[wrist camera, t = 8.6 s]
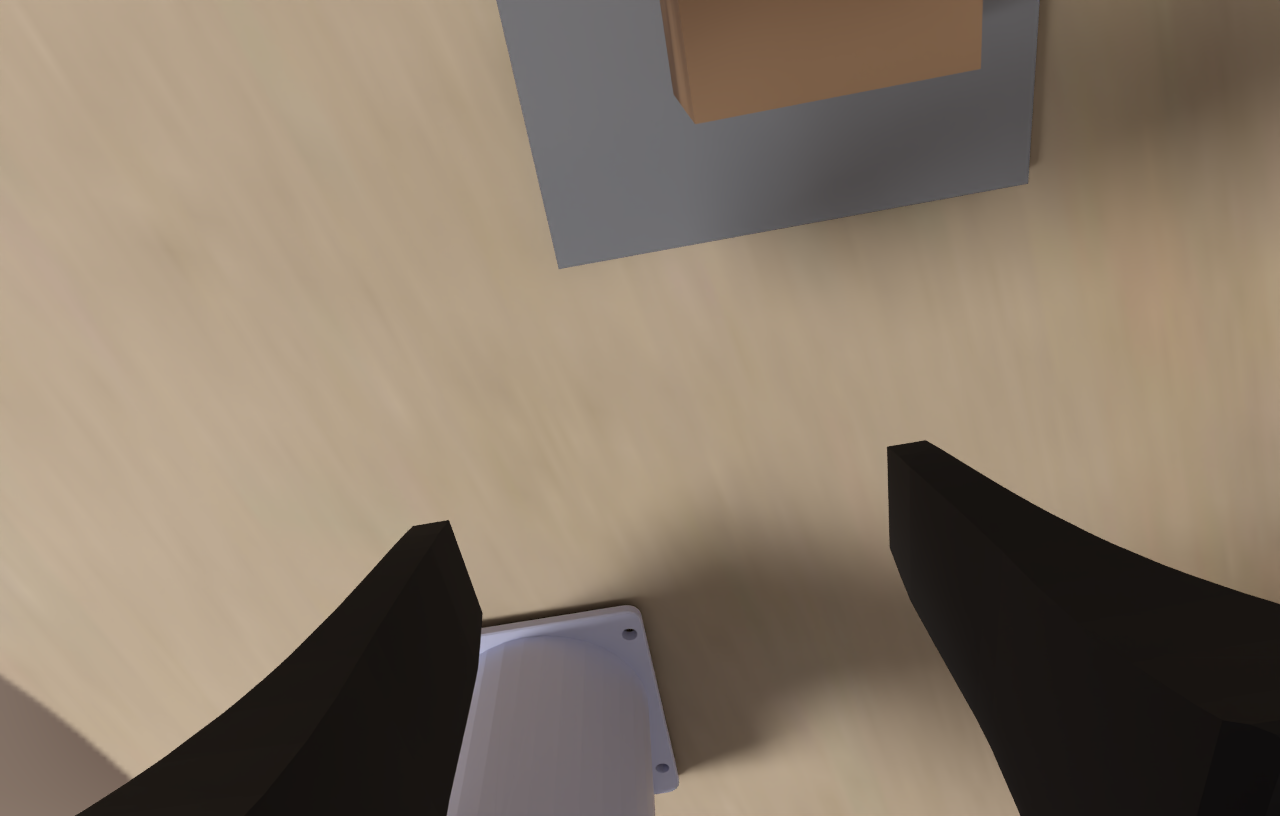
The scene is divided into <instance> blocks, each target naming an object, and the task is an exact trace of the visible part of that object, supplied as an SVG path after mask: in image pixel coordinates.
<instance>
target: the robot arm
mask: <svg viewBox="0 0 1280 816" xmlns="http://www.w3.org/2000/svg"><path fill="white" fill-rule="evenodd" d="M887 460H888V499H889V537H890V550H891V552H892V555H893V557H894V560H895V563H896V565H897V568H898V570H899V573H900V576H901V578H902V581H903V583H904V586H905V588H906V590H907V593H908V595H909V598H910V600H911V602H912V604H913V606H914V608H915V610H916V612H917V613H918V615H919V617H920V619H921V621H922V622H923V624H924V626H925V628H926V630H927V631H928V633H929V635H930V637H931V639H932V641H933V642H934V644H935V646H936V648H937V649H938V651H939V653H940V655H941V657H942V658H943V660H944V662H945V664H946V665H947V667H948V669H949V671H950V673H951V674H952V676H953V678H954V680H955V681H956V683H957V685H958V687H959V689H960V690H961V692H962V694H963V696H964V698H965V699H966V701H967V703H968V705H969V706H970V708H971V710H972V712H973V714H974V715H975V717H976V719H977V721H978V723H979V725H980V727H981V729H982V731H983V733H984V735H985V737H986V739H987V741H988V743H989V745H990V746H991V749H992V751H993V753H994V756H995V758H996V760H997V762H998V765H999V767H1000V769H1001V772H1002V774H1003V776H1004V779H1005V781H1006V783H1007V785H1008V788H1009V790H1010V792H1011V795H1012V797H1013V799H1014V802H1015V804H1016V806H1017V808H1018V811H1019V813H1020V816H1280V604H1278V603H1274V602H1271V601H1268V600H1264V599H1261V598H1258V597H1254V596H1251V595H1248V594H1245V593H1242V592H1239V591H1236V590H1233V589H1230V588H1227V587H1224V586H1221V585H1218V584H1215V583H1212V582H1209V581H1206V580H1204V579H1201V578H1198V577H1195V576H1192V575H1189V574H1186V573H1184V572H1181V571H1178V570H1176V569H1173V568H1170V567H1168V566H1165V565H1162V564H1160V563H1157V562H1155V561H1153V560H1150V559H1148V558H1145V557H1143V556H1141V555H1138V554H1136V553H1134V552H1131V551H1129V550H1126V549H1124V548H1122V547H1119V546H1117V545H1114V544H1112V543H1110V542H1108V541H1106V540H1103V539H1101V538H1099V537H1097V536H1095V535H1093V534H1091V533H1088V532H1086V531H1084V530H1082V529H1081V528H1079V527H1077V526H1075V525H1073V524H1071V523H1069V522H1067V521H1065V520H1063V519H1061V518H1059V517H1057V516H1055V515H1053V514H1051V513H1049V512H1047V511H1045V510H1043V509H1042V508H1040V507H1038V506H1036V505H1034V504H1032V503H1031V502H1029V501H1027V500H1025V499H1023V498H1022V497H1020V496H1018V495H1016V494H1015V493H1013V492H1011V491H1009V490H1008V489H1006V488H1004V487H1002V486H1001V485H999V484H997V483H996V482H994V481H992V480H991V479H989V478H987V477H986V476H984V475H982V474H981V473H979V472H977V471H976V470H974V469H973V468H971V467H969V466H968V465H966V464H964V463H963V462H961V461H960V460H958V459H956V458H955V457H953V456H951V455H950V454H948V453H946V452H945V451H943V450H942V449H940V448H938V447H936V446H935V445H933V444H931V443H929V442H928V441H926V440H925V441H919V442H913V443H907V444H901V445H895V446H889V447H887ZM626 629H634V631H631V632H627V631H624V630H626ZM678 785H679V777H678V771H677V767H676V763H675V758H674V754H673V750H672V745H671V741H670V737H669V732H668V728H667V724H666V719H665V715H664V711H663V706H662V702H661V698H660V693H659V689H658V685H657V680H656V676H655V672H654V667H653V663H652V659H651V654H650V650H649V646H648V641H647V637H646V633H645V628H644V624H643V620H642V615H641V613H640V611H639V609H637V608H636V607H634V606H631V605H623V606H616V607H610V608H604V609H598V610H591V611H585V612H579V613H573V614H566V615H560V616H554V617H548V618H541V619H535V620H529V621H523V622H516V623H510V624H504V625H498V626H491V627H485V628H482V611H481V608H480V605H479V602H478V599H477V597H476V594H475V591H474V588H473V586H472V583H471V580H470V577H469V574H468V572H467V569H466V566H465V563H464V561H463V558H462V555H461V552H460V550H459V547H458V544H457V541H456V538H455V536H454V533H453V530H452V527H451V525H450V522H449V520H447V521H441V522H435V523H429V524H423V525H417V526H413V527H412V528H411V529H410V530H409V531H408V532H407V533H406V534H405V535H404V536H403V537H402V538H401V539H400V540H399V541H398V542H397V543H396V544H395V545H394V546H393V547H392V549H391V550H390V551H389V552H388V553H387V554H386V555H385V556H384V557H383V558H382V560H381V561H380V562H379V563H378V564H377V565H376V566H375V567H374V569H373V570H372V571H371V572H370V573H369V574H368V575H367V576H366V577H365V578H364V580H363V581H362V582H361V583H360V584H359V585H358V586H357V587H356V588H355V589H354V590H353V591H352V593H351V594H350V595H349V596H348V597H347V598H346V599H345V600H344V601H343V602H342V603H341V605H340V606H339V607H338V608H337V609H336V610H335V611H334V612H333V613H332V614H331V615H330V616H329V617H328V618H327V619H326V620H325V621H324V622H323V623H322V624H321V625H320V626H319V627H318V628H317V629H316V630H315V631H314V632H313V633H312V634H311V635H310V636H309V637H308V638H307V639H306V640H305V641H304V642H303V643H302V644H301V645H300V646H299V647H298V648H297V649H296V650H295V651H294V652H293V653H292V654H291V655H290V656H289V657H288V658H287V659H285V660H284V661H283V662H282V663H281V664H280V665H279V666H278V667H277V668H276V669H275V670H273V671H272V672H271V673H270V674H269V675H268V676H267V677H266V678H265V679H263V680H262V681H261V682H260V683H259V684H258V685H256V686H255V687H254V688H253V689H252V690H250V691H249V692H248V693H247V694H246V695H245V696H243V697H242V698H241V699H240V700H239V701H237V702H236V703H235V704H234V705H233V706H231V707H230V708H229V709H228V710H226V711H225V712H224V713H223V714H221V715H220V716H219V717H217V718H216V719H215V720H213V721H212V722H211V723H209V724H208V725H207V726H205V727H204V728H203V729H201V730H200V731H199V732H197V733H196V734H195V735H193V736H192V737H191V738H189V739H188V740H187V741H185V742H184V743H183V744H181V745H180V746H179V747H177V748H176V749H175V750H173V751H172V752H171V753H169V754H168V755H167V756H165V757H164V758H163V759H161V760H160V761H158V762H157V763H155V764H154V765H153V766H151V767H150V768H148V769H147V770H145V771H144V772H142V773H141V774H139V775H138V776H136V777H135V778H133V779H132V780H130V781H129V782H127V783H126V784H125V785H123V786H121V787H120V788H118V789H117V790H115V791H114V792H112V793H111V794H109V795H107V796H106V797H104V798H103V799H101V800H100V801H98V802H97V803H95V804H93V805H92V806H90V807H89V808H87V809H86V810H84V811H82V812H81V813H79V814H77V815H76V816H655V801H654V794H660V793H666V792H671V791H673V790H675V789H676V788H677V787H678Z"/></svg>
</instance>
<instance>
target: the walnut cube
mask: <svg viewBox="0 0 1280 816" xmlns="http://www.w3.org/2000/svg"><path fill="white" fill-rule="evenodd" d="M660 6H661V13H662V20H663V27H664V33H665V40H666V47H667V54H668V61H669V67H670V74H671V81H672V88H673V95H674V96H675V97H676V99H677V100H678V101H679V103H680V104H681V106H682V107H683V108H684V110H685V111H686V112H687V114H688V115H689V117H690V118H691V119H692V121H693V122H694V123H695V124H699V123H705V122H710V121H715V120H720V119H725V118H730V117H735V116H741V115H746V114H751V113H756V112H761V111H766V110H771V109H777V108H782V107H787V106H792V105H797V104H802V103H808V102H813V101H818V100H823V99H828V98H833V97H838V96H844V95H849V94H854V93H859V92H864V91H869V90H875V89H880V88H885V87H890V86H895V85H900V84H905V83H911V82H916V81H921V80H926V79H931V78H936V77H941V76H947V75H952V74H957V73H962V72H967V71H972V70H978V69H981V46H982V12H983V0H660Z"/></svg>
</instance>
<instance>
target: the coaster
mask: <svg viewBox="0 0 1280 816" xmlns="http://www.w3.org/2000/svg"><path fill="white" fill-rule="evenodd" d="M496 1H497V5H498V9H499V14H500V18H501V22H502V27H503V31H504V35H505V39H506V44H507V48H508V52H509V57H510V61H511V65H512V70H513V74H514V78H515V82H516V87H517V91H518V95H519V100H520V104H521V108H522V113H523V117H524V121H525V125H526V130H527V134H528V138H529V143H530V147H531V151H532V156H533V160H534V164H535V168H536V173H537V177H538V181H539V186H540V190H541V194H542V199H543V203H544V207H545V211H546V216H547V220H548V224H549V229H550V233H551V237H552V242H553V246H554V250H555V254H556V259H557V263H558V267H559V269H562V268H567V267H573V266H578V265H584V264H589V263H595V262H600V261H606V260H611V259H617V258H622V257H628V256H633V255H639V254H644V253H650V252H655V251H661V250H666V249H672V248H677V247H683V246H688V245H694V244H699V243H705V242H710V241H716V240H721V239H727V238H732V237H738V236H743V235H749V234H754V233H760V232H765V231H771V230H776V229H782V228H787V227H793V226H798V225H804V224H809V223H815V222H820V221H826V220H831V219H836V218H842V217H847V216H853V215H858V214H864V213H869V212H875V211H880V210H886V209H891V208H897V207H902V206H908V205H913V204H919V203H924V202H930V201H935V200H941V199H946V198H952V197H957V196H963V195H968V194H974V193H979V192H985V191H990V190H996V189H1001V188H1007V187H1012V186H1018V185H1023V184H1028V176H1029V161H1030V145H1031V129H1032V113H1033V98H1034V82H1035V66H1036V51H1037V35H1038V19H1039V3H1040V0H983V12H982V46H981V69H978V70H972V71H967V72H962V73H957V74H952V75H947V76H941V77H936V78H931V79H926V80H921V81H916V82H911V83H905V84H900V85H895V86H890V87H885V88H880V89H875V90H869V91H864V92H859V93H854V94H849V95H844V96H838V97H833V98H828V99H823V100H818V101H813V102H808V103H802V104H797V105H792V106H787V107H782V108H777V109H771V110H766V111H761V112H756V113H751V114H746V115H741V116H735V117H730V118H725V119H720V120H715V121H710V122H705V123H699V124H695V123H694V122H693V121H692V119H691V118H690V117H689V115H688V114H687V112H686V111H685V110H684V108H683V107H682V106H681V104H680V103H679V101H678V100H677V99H676V97H675V96H674V95H673V88H672V81H671V74H670V67H669V61H668V54H667V47H666V40H665V33H664V27H663V20H662V13H661V6H660V0H496Z"/></svg>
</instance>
